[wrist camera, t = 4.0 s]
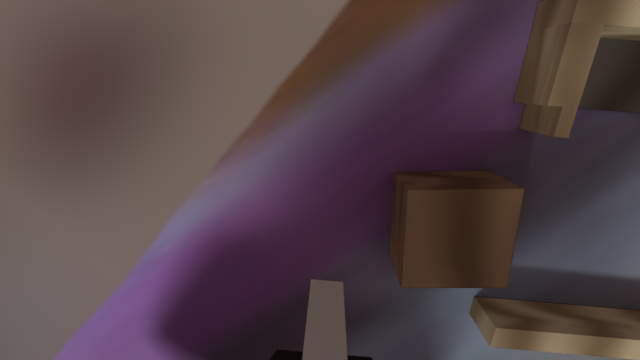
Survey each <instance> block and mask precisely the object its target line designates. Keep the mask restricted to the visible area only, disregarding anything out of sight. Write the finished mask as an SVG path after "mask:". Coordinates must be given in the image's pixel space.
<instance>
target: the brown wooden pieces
mask: <svg viewBox="0 0 640 360" xmlns="http://www.w3.org/2000/svg"><path fill="white" fill-rule="evenodd" d="M513 103H524V104H526V105H525V108H524V112H523V116H522V120H521V123H520V127H519V129H521V130H525V131H530V132H534V133H539V134H543V135H548V136H552V137H561V138H569V135H570V131H571V128H572V125H573V122H574V119H575V116H576V113H577V109H578V108H587V109H599V110H611V111H623V112H636V113H640V0H543V1H541V2H539V3H538V7H537V11H536V15H535V19H534V22H533V26H532V30H531V34H530V38H529V42H528V46H527V50H526V54H525V58H524V62H523V66H522V69H521V73H520V77H519V81H518V85H517V89H516V93H515V97H514V101H513ZM470 315H471V317H472V318H473V320H474V322H475V323H476V325H477V326H478V328H479V330H480V331H481V333H482V335H483V336H484V338H485V339H486V341H487V343H488V344H489V346H490V347H496V348H508V349H519V350H531V351H543V352H554V353H566V354H577V355H589V356H600V357H612V358H623V359H635V360H640V311H638V310H626V309H615V308H603V307H591V306H580V305H568V304H556V303H545V302H533V301H521V300H510V299H498V298H486V297H475V296H474V299H473V303H472V307H471V310H470Z"/></svg>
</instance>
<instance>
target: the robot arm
mask: <svg viewBox="0 0 640 360" xmlns="http://www.w3.org/2000/svg"><path fill="white" fill-rule="evenodd" d="M270 360H372V358H371V357H361V356H350V355H347V342H346V324H345V306H344V288H343V282H337V281H326V280H315V279H311V283H310V292H309V301H308V310H307V320H306V329H305V338H304V347H303V352H298V351H287V350H276V352H275V353H274V354H273V356H272V357H271V359H270Z"/></svg>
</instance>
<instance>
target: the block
mask: <svg viewBox="0 0 640 360" xmlns="http://www.w3.org/2000/svg"><path fill="white" fill-rule="evenodd" d="M524 190H525V189H524V188H522V187H520V186H518V185H516V184H514V183H512V182H511V181H509V180H507V179H505V178H503V177H501V176H499V175H497V174H495V173H493V172H492V171H436V172H394V187H393V207H392V228H391V248H390V256H391V259H392V262H393V265H394V268H395V270H396V273H397V276H398V279H399V282H400V285H401V287H402V288H507V284H508V279H509V273H510V268H511V262H512V257H513V251H514V245H515V240H516V234H517V229H518V223H519V218H520V212H521V206H522V201H523V195H524Z"/></svg>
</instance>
